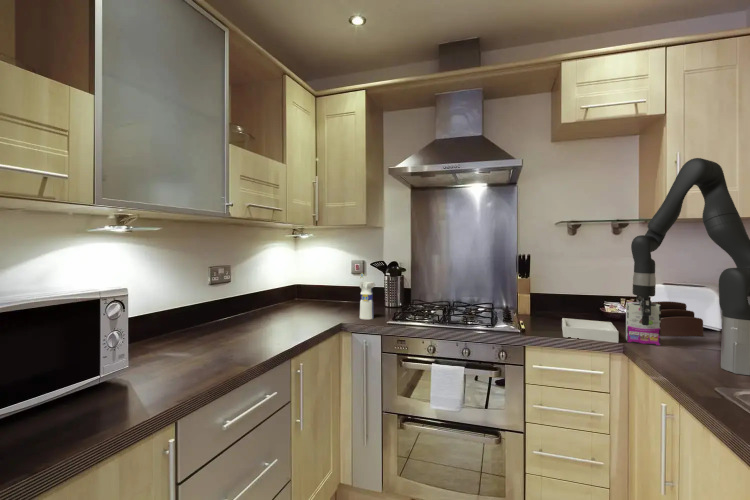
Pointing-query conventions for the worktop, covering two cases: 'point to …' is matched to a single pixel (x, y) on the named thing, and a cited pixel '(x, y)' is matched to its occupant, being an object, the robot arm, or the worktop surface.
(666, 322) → the letter holder
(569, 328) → the tray
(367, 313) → the white spray bottle
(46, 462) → the worktop surface
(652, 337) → the candy bar box
